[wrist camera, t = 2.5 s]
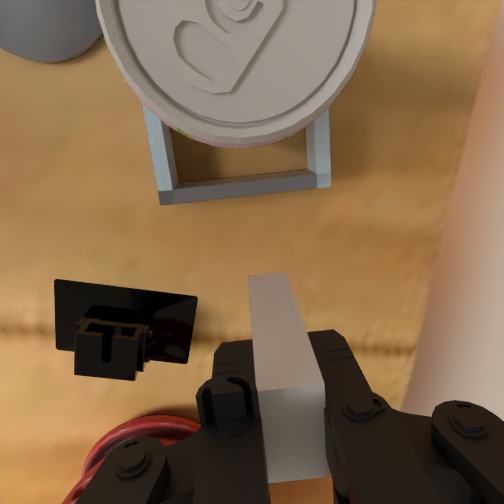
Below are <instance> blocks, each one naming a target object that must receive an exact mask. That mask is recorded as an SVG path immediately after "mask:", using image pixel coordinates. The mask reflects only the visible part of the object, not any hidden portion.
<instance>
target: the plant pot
mask: <svg viewBox="0 0 504 504" xmlns="http://www.w3.org/2000/svg"><path fill="white" fill-rule="evenodd" d="M200 427H201V424H198V423H196V422H194V421H191V420H188V419H185V418H181V417H176V416H168V415H155V416H146V417H141V418H137V419H134V420H131V421H129V422H126V423H123V424H121V425H119V426H117V427H116V428H114V429H112V430H111V431H109V432H108V433H107V434H106V435H104V436H103V437H102V438H101V439H100V440H99V441H98V442H97V443H96V444H95V446H94V447H93V448H92V450H91V451H90V453H89V455H88V456H87V458H86V460H85V463H84V466H83V469H82V475H81V480H80V481H79V482H78V483H77V484H76V485H75V487H74V488H73V489H72V490H71V492H70V493H69V494H68V496H67V497H66V498H65V500H64V501H63V502H62V504H75V503H76V501H77V500H78V498H79V497H80V495H81V494H82V492H83V491H84V489H85V488H86V486H87V484H88V483H89V481H90V480H91V478H92V477H93V475H94V474H95V472H96V471H97V469H98V468H99V466H100V465H101V463H102V462H103V460H104V459H105V458H106V457H107V456H108V454H109V453H110V452H111V451H112V450H113V449H114V448H116V447H117V446H119V445H120V444H122V443H123V442H125V441H127V440H130V439H133V438H135V437H143V436H150V437H153V438H157V439H159V440H160V441H161V442H162V443H163V444H164V446H165V447H166V446H168V445H171V444H174V443H176V442H179V441H181V440H183V439H185V438H187V437H189V436H191V435H192V434H194V433H195V432H196V431H198V429H199V428H200Z"/></svg>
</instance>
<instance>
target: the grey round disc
mask: <svg viewBox="0 0 504 504" xmlns="http://www.w3.org/2000/svg"><path fill="white" fill-rule="evenodd" d="M102 34H103V31H102V28H101V25H100V22H99V18H98V15H97V9H96V1H95V0H0V48H2V49H4V50H6V51H8V52H10V53H12V54H14V55H17V56H19V57H22V58H25V59H29V60H33V61H37V62H45V63H56V62H62V61H67V60H70V59H73V58H76V57H78V56H79V55H81V54H83V53H85V52H86V51H87V50H89V49H90V48H91V47H92V46H93V45H94V44H95V43H96V42H97V41H98V40H99V39H100V37H101V36H102Z"/></svg>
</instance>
